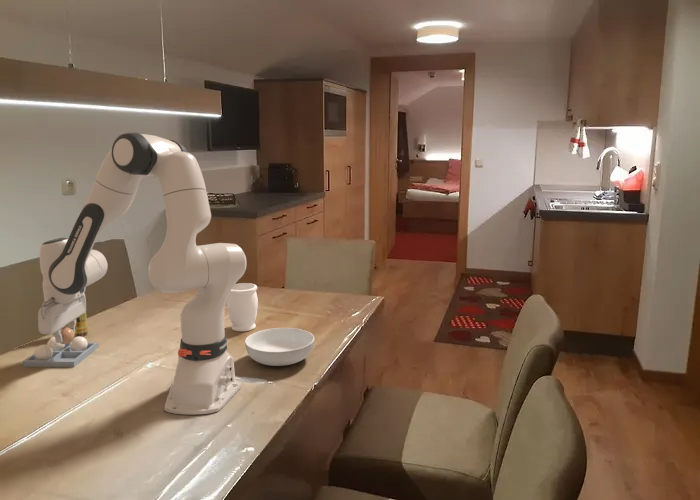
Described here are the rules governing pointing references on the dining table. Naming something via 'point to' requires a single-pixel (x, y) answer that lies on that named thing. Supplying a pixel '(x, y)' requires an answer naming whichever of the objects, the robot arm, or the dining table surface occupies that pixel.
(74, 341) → the white egg
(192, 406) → the robot arm
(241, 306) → the jar
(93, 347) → the egg tray
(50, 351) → the white egg
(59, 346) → the white egg
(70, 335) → the brown egg
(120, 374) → the dining table surface
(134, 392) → the dining table surface
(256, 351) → the serving bowl
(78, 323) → the sauce bottle
